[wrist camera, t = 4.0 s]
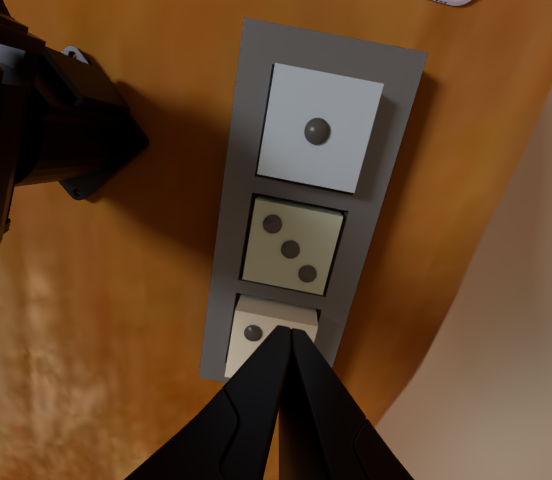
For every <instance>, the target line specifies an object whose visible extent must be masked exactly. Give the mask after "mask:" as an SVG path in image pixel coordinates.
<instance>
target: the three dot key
mask: <svg viewBox="0 0 552 480" xmlns="http://www.w3.org/2000/svg"><path fill="white" fill-rule="evenodd" d="M342 219H343V216H342V214H341V213H340V211H339V210H338V209H335V208H330V207H325V206H319V205H314V204H309V203H304V202H299V201H294V200H289V199H284V198H279V197H274V196H269V195H264V194H260V195H259V196H258V197H257V198H256V199H255V205H254V211H253V217H252V223H251V230H250V236H249V242H248V248H247V254H246V260H245V266H244V272H243V278H242V279H244V280H249V281H254V282H259V283H264V284H269V285H275V286H280V287H285V288H290V289H295V290H300V291H305V292H310V293H315V294H320V295H323V291H324V287H325V283H326V280H327V276H328V272H329V268H330V265H331V261H332V257H333V253H334V250H335V246H336V242H337V238H338V234H339V231H340V227H341V223H342Z"/></svg>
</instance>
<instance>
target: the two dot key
mask: <svg viewBox="0 0 552 480" xmlns="http://www.w3.org/2000/svg"><path fill="white" fill-rule="evenodd" d="M277 325H282V326H287V327H290V329H292V328H296V329H302V330H305V331H306V333H307V334H308V336H309V337H310V338H311V340H312V341H313V343H314V340H315V337H316V333H317V329H318V321H317V313H316V308H311V307H306V306H301V305H296V304H291V303H286V302H281V301H276V300H271V299H266V298H261V297H256V296H251V295H246V294H241V296H240V299H239V301H238V304H237V307H236V309H235V314H234V321H233V327H232V333H231V339H230V345H229V352H228V358H227V364H226V370H225V377H229V378H231V377H232V376H233V375H234V374H235V372H236V371H237V370H238V369H239V368H240V367H241V366H242V364H243V363H244V362H245V361H246V360H247V359H248V358H249V357H250V355H251V354H252V353H253V352H254V351H255V350H256V349H257V347H258V346H259V345H260V344H261V343H262V342H263V341H264V339H265V338H266V337H267V336H268V335H269V334H270V333H271V331H272V330H273V329H274V328H275V327H276V326H277Z"/></svg>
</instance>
